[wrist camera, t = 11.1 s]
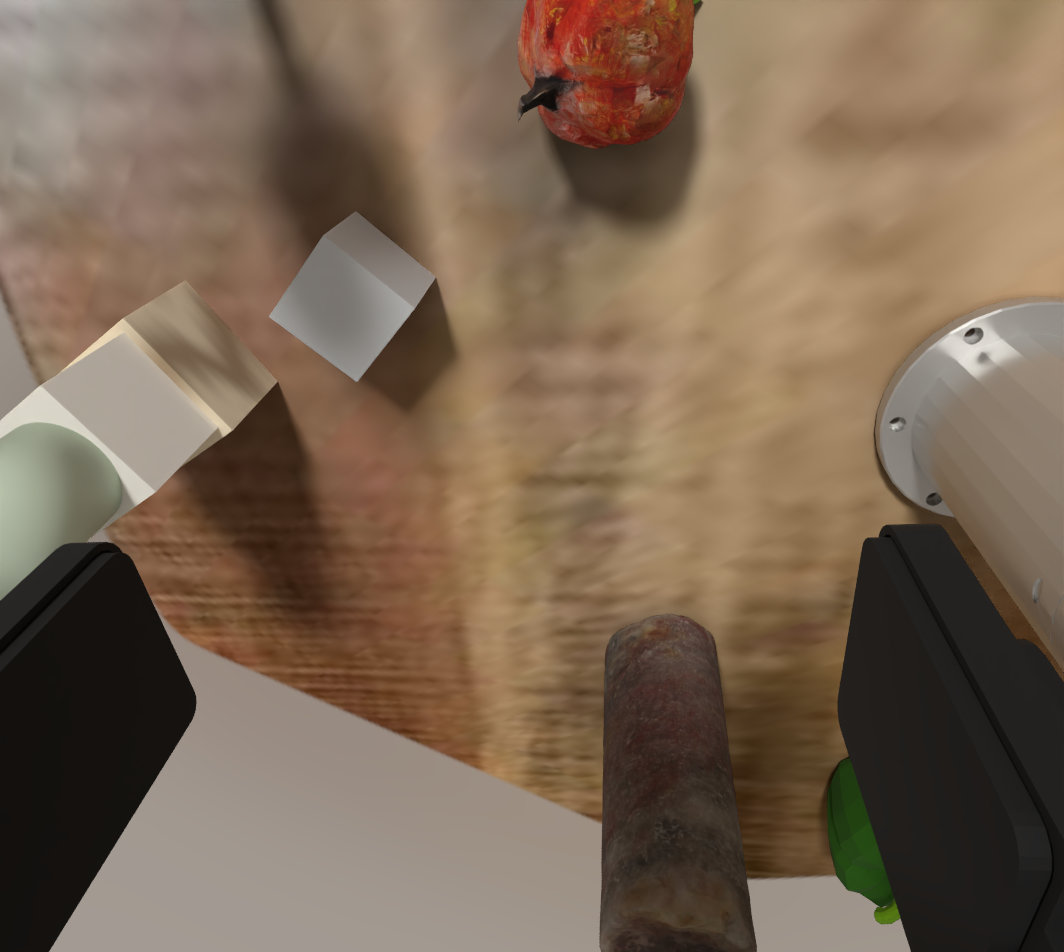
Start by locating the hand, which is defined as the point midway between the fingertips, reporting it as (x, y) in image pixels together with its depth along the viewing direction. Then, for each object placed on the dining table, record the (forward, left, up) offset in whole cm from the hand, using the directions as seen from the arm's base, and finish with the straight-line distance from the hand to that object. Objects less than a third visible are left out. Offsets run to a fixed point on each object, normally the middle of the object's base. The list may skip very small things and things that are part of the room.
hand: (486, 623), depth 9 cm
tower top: (+4, +23, -24) cm, 34 cm away
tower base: (+4, +23, -30) cm, 38 cm away
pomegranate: (+4, -4, -30) cm, 31 cm away
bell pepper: (-47, +5, -30) cm, 56 cm away
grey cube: (+2, +12, -30) cm, 32 cm away
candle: (-28, +12, -30) cm, 43 cm away
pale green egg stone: (+4, +23, -18) cm, 30 cm away
